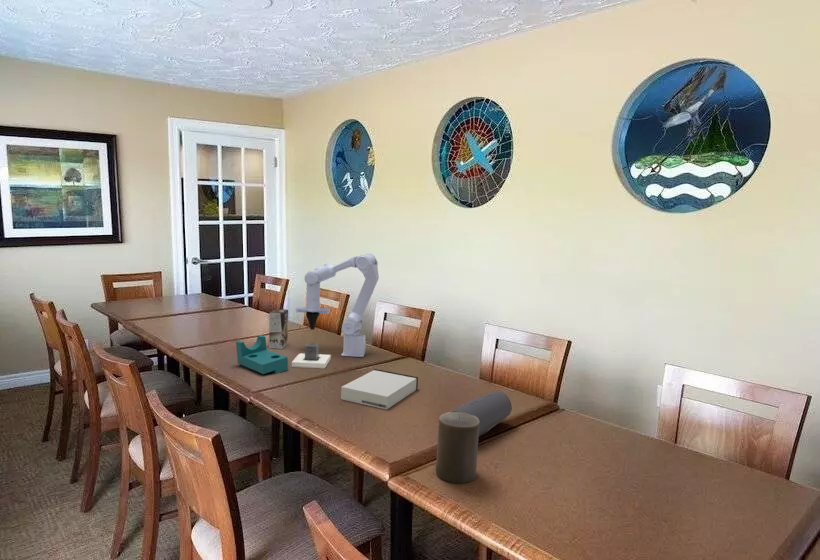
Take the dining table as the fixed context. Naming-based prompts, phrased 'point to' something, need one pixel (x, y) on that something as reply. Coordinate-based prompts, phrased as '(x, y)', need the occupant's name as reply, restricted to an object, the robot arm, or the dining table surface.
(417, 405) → the dining table surface
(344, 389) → the disc drive
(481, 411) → the bluetooth speaker
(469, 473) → the pillar candle
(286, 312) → the coffee box
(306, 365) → the socket
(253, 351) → the teal l-shaped bracket
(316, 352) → the plug
